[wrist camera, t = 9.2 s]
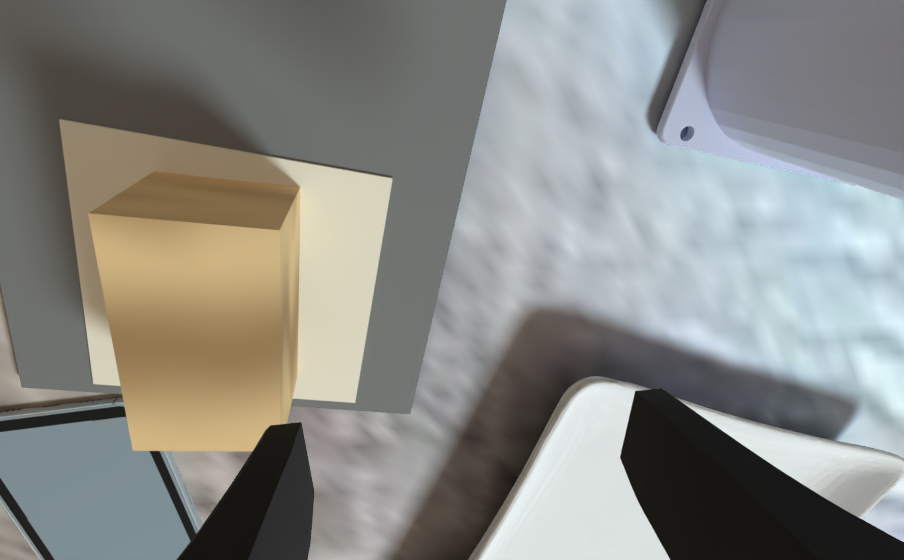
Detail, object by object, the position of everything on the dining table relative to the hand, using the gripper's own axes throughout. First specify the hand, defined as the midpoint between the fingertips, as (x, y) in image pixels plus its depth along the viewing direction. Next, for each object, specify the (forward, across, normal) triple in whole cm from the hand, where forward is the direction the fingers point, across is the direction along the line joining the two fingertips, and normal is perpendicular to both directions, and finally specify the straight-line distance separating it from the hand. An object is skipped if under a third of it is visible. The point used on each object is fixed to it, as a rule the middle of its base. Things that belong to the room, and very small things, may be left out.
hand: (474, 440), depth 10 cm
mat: (+9, +6, -4) cm, 12 cm away
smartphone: (+10, +15, +13) cm, 22 cm away
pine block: (+9, +7, 0) cm, 11 cm away
